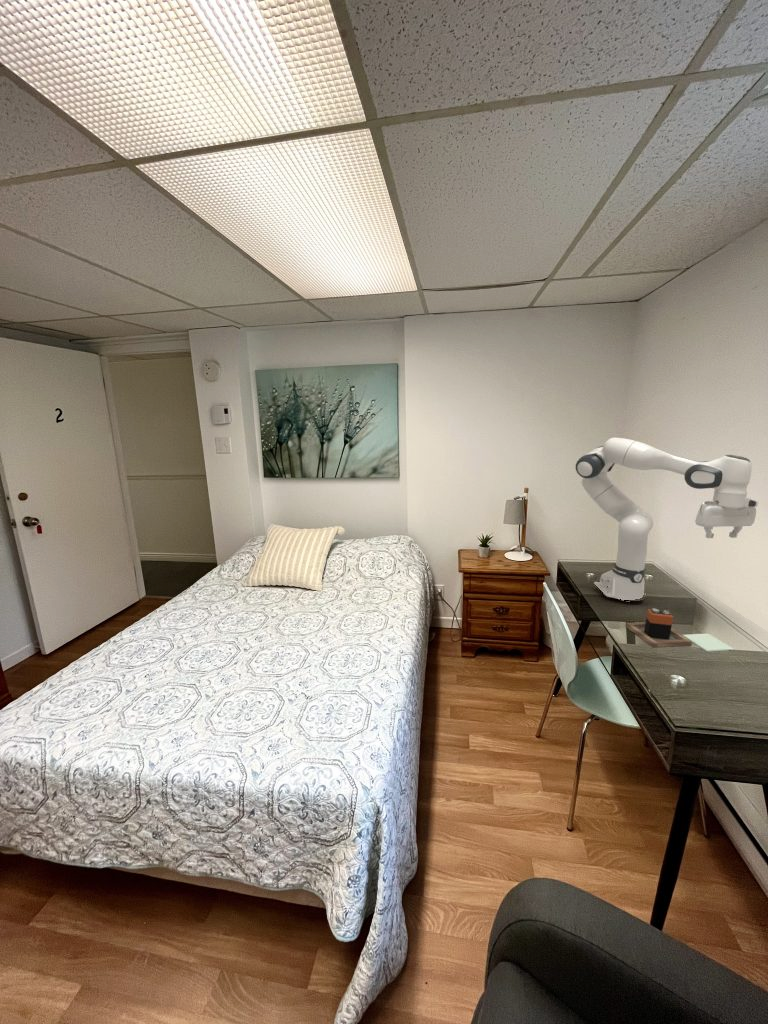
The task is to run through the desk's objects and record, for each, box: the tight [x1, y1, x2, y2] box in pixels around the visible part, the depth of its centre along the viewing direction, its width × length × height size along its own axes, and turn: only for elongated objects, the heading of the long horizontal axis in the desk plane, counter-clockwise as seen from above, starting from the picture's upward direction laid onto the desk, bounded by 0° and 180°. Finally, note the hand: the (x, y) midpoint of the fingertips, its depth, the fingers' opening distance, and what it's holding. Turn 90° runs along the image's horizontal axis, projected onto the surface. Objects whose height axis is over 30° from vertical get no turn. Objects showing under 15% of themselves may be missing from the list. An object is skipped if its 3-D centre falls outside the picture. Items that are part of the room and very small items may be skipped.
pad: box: [682, 633, 735, 653], centre depth 137 cm, size 10×10×1 cm
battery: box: [643, 608, 674, 640], centre depth 141 cm, size 4×7×10 cm, turn 76°
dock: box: [625, 621, 693, 648], centre depth 142 cm, size 14×14×2 cm
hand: (721, 537), depth 144 cm, fingers open, 8 cm apart
